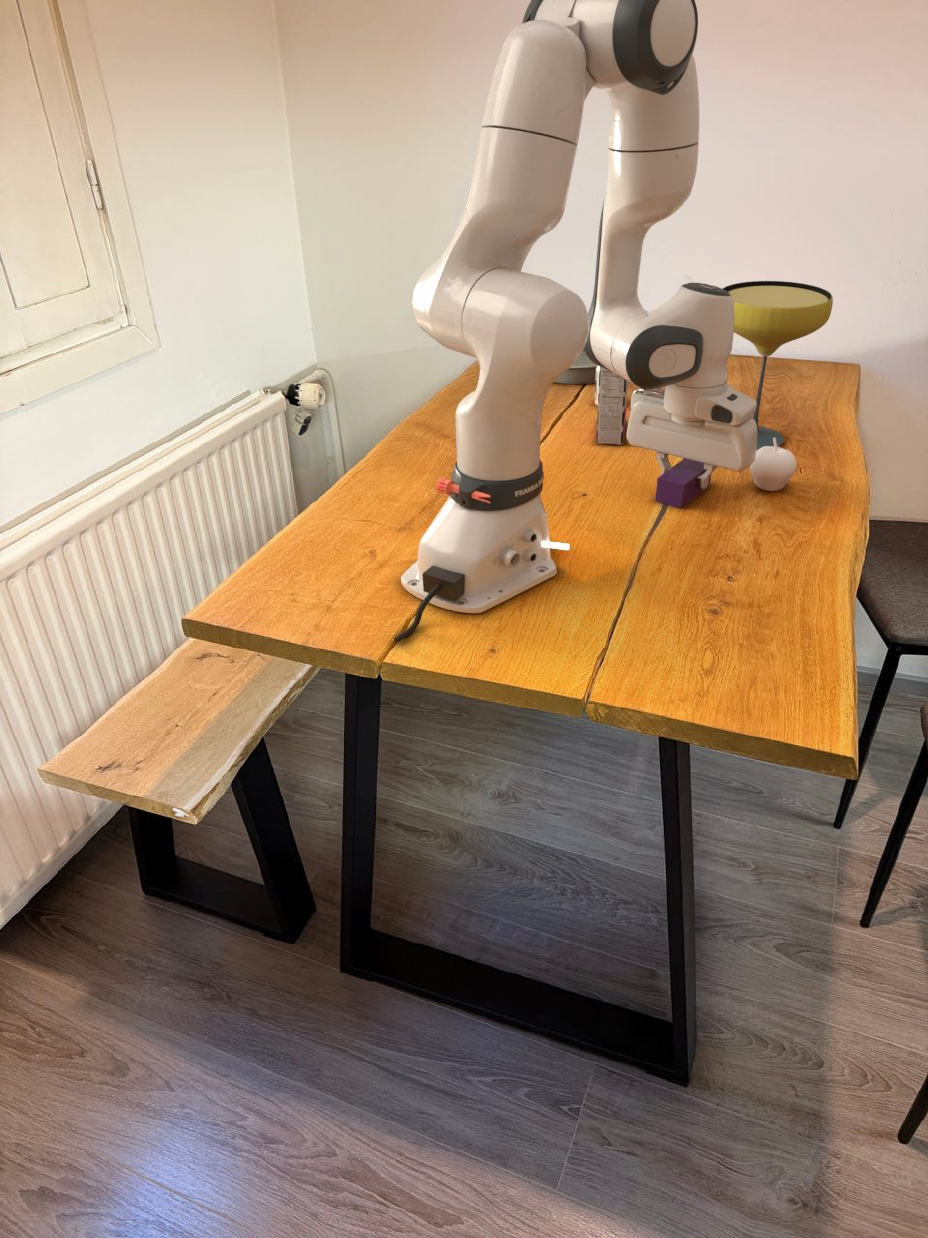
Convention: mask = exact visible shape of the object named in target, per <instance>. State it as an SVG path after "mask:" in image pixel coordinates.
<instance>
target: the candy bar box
mask: <svg viewBox="0 0 928 1238" xmlns="http://www.w3.org/2000/svg"><path fill="white" fill-rule="evenodd" d="M628 387H629V382H628V381H627V380H625V379H623V378H621V377H620V376H618V375H616V374H615V373H613V372H612V371H610V370H607V369H605V368H603V367H600V372H599V396H598V406H597V420H596V421H597V422H596V440H595V441H596V442H595V443H596V444H597V445H602V446H603V445H604V446H623V443H624V437H625V429H626V423H627V420H626V419H627V405H628V404H627V403H628Z"/></svg>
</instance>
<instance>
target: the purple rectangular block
mask: <svg viewBox="0 0 928 1238" xmlns="http://www.w3.org/2000/svg"><path fill="white" fill-rule="evenodd" d="M672 466H673V467H672V468H671V469H669V470H668V471H666V472H665V473H664V474H662V475H661V474H660V476H657V481H656V488H655V502H656V503H660V504H663V505H666V506H671V507H673V508H678V509H683V508H684V507H686V505H688V504H689V503H690V502H691V501H693V500H694V499H695V498H697V497H698V496H699V495H700V494H702V492H704V491H705V490H706V489H708V488H709V487H710V485H711V480H712V474H711V475H710V476H709V482H708V486H707V487H706V488H705V489H702V488H698V487H695V483H696V477H697V476H699V475H700V474H701V473H702V474H704V473H705V472H706V471H707V470H706V469H704V463H702V462H698V461H694V460H690V459H686V458H683V459H681V460H680V461H679V462H677V463H676V464H674V465H672Z"/></svg>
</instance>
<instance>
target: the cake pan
mask: <svg viewBox="0 0 928 1238" xmlns="http://www.w3.org/2000/svg"><path fill="white" fill-rule="evenodd" d="M597 366H598V365H596V364H594V363H593V362H592V361H591V360H590V359H589V358H588V356H587V355H586V353H585V350H584V349H583V351H582V353H581V355H580V356H579V358H578V359H577V360H576V362H575V363H574V364H573V365H572V366H571V367H570V368H569V369H568V370H566V371H565V372H563V373H562V374H560V375H559V376H558V377H557V378H556V379H555V380H554V382H553V383H557V384H565V385H588V384H595V382H596V368H597Z"/></svg>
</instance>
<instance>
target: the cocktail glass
mask: <svg viewBox="0 0 928 1238" xmlns="http://www.w3.org/2000/svg"><path fill="white" fill-rule="evenodd" d="M722 289H723V290H726V291H727V292H729V293H730V295H731V296H732V297H733V300H734V307H735V324H734V334H736V335H738V336H739V337H742V338H744V339H745V340H747V341H749V342H750V343H752V344H753V346H754V347H755V349H756V351H757V353H758V354H759V355H760V356H762V363H761V368H760V369H761V370H760V377H759V381H758V388H757V394H756V400H755V401H756V402H757V408H756V411H755V413H754V414H753V415H752V418H753V419H754V420H755V422H756V425H757V449H756V451H757V450H758V449H760V448H762V447H765V446H772V447H774V443H773V438H776V443H777V447H781V446H782V445H783V444H784V443H785V437H784V436H783V435H782V433H780V432H779V431H777V430H774V429H771V428H768V427H764V426H759V417H760V416H759V414H760V407H761V406H760V405H761V398H762V394H763V393H762V392H763V385H764V379H765V374H766V367H767V359H768V357H770V356H772V355H773V354H774V353H775V352H776V351H777V350H778V349H779V348H780V347H782V346H783V345H785V344H788V343H790V342H792V341H795V340H798V339H799V340H800V339H802V338H804V337H806V336H809V335H810V334H813V333H815V332H816V331H818V330H819V329H821V328H822V327H824V326H825V325H826V324H827V323H828V321H829V319H830V317H831V314H832V310H833V304H834V298H833V295H832V293H831V292H830V291H828V290H827V289H824V288H822V287H819V286H816V285H813V284H812V285H811V284H808V283H802V282H794V281H783V280H781V281H780V280H756V281H755V280H754V281H742V282H737V283H733V284H729V285H727V286H724V287H723V288H722Z"/></svg>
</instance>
